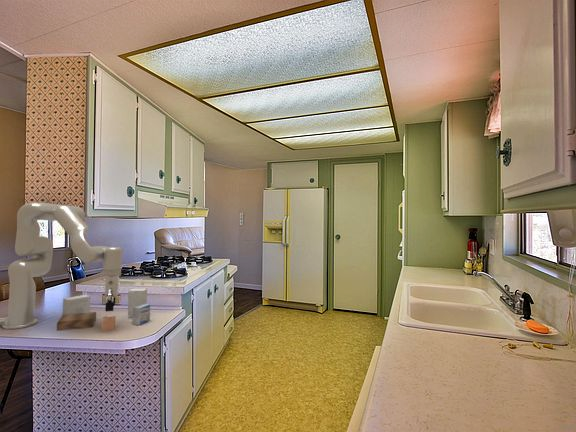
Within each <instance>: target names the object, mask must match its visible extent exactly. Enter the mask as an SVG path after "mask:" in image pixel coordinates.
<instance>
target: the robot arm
mask: <svg viewBox="0 0 576 432" xmlns="http://www.w3.org/2000/svg"><path fill="white" fill-rule="evenodd" d="M85 218H86V213H85V210H84V209H83V208H81V207H80V206H78V205H77V206H76V205H67V204H56V203H47V202H40V201H39V202H38V201H37V202H36V201H35V202H28V203H25V204H24V205H22V206H21V207H20V208H19V209H18V210H17V214H16V226H17V227H16V228H17V229H16V236H15V244H14V245H15V246H14V251H15V254H16V255H18V256H19V257H20V256H21V257H30V258H22V259H21V258H20V259H17V260H15V261H13V262H11V264H9V266H8V268H7V272H8V279H9V290H8V291H9V293H8V304H7V305H8V306H7V307H8V310H7V316H5V317H0V324H1V323H3V324H2V326H1V327H2V328H3V329H6V330H12V329H13V330H14V329H15V330H16V329H22V328H27V327H32V326H33V325H34V326H35V325H37V323H38V320H39V319H37V318H35V309H36V308H35V306H36V293H37V292H36V291H37V285H36V282H35V280H34V278H35V277H41V276H44V275H46V274H48V273H49V272H50V271H51V267H52V260H53V253H54V244H53V242H52V240H51V239H50V237H47V236H44V235H43V236H42V235H41V234H40V233H41V226H40V223H39V221H56V222H57V223H58V224H59V225H60V226H61V228H62V229H63V230H64V231H65V232H66V234H67V235H68V236H69V245H70V248H71V251H72V252H73V253H74V255H76V257H77V258H78V259H79V260H80V261H82V262H83V263H86V264H92V263H93V264H94V263H99V262H103V264H102V265H103V266H102V277H104V278H105V283H104V295H105V297H104V298H105V299H106V301H105V312H114V306H115V305H116V298H117V297H118V294H119V277H120V276H122V260H123V259H122V258H123V249H122V247H119V246H106V245H105V246H104V245H98V246H97V245H95V246H91V245H90V244H89V243H88V242H87V240H86V239H85V236H84V235H85V234H86V233H87V232H88V230H89V226H88V225H87V224H86V222H84V220H85ZM40 235H41V236H40ZM31 257H32V258H31Z"/></svg>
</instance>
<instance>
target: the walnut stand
mask: <svg viewBox="0 0 576 432" xmlns="http://www.w3.org/2000/svg"><path fill="white" fill-rule="evenodd" d="M96 319H97V311H92V312H89V313H77V314H65V315H62V316H61V317H60V318H59V319H58V320H57V322H56V332H57V331H65V330H67V331H69V330H74V329H75V330H76V329H78V330H79V329H85V328H87V329H88V328H93V327H94V324H95V322H96Z"/></svg>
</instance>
